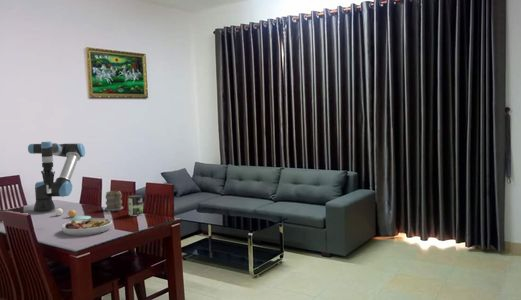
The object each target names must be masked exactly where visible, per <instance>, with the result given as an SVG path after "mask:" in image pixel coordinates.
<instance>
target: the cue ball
mask: <svg viewBox="0 0 521 300" xmlns="http://www.w3.org/2000/svg"><path fill="white" fill-rule="evenodd" d="M54 214H55V215H56V216H62V215H63V214H64V210H63V209H62V208H61V207H59V208H55V209H54Z"/></svg>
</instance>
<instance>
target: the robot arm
mask: <svg viewBox="0 0 521 300" xmlns="http://www.w3.org/2000/svg"><path fill="white" fill-rule="evenodd" d="M27 151H28V153H29V154H30V155H31V154H33V155H36V154H37V155H38V154H41V162H42V163H41V167H42V168H43V169H42V170H41V171H40V174H41V175H42V181H36V183H34V192H35V193H34V194H35V203H34V206H33V212H39V213H40V212H49V211H55V210H56V206H55V203H54V201H53V197H54V198H55V197H56V198H57V197H58V198H59V197H60V198H64V197H69V196H70V195H71V193H72V191H73V183H72V181H71V179H72V177H73V173H74V172H75V168H76V166H77V163H78V161H80V160H81V158H83V157H85V155H86V150H85V146H84V144H83V143H81V142H80V143H79V142H77V143H56V142H54V143H53V142H52V141H41V143H29V144H28V146H27ZM54 156H56V157H61V158H62V157H63V158H66V159H65V162H64V164H63V167H62V169H61V172H60V175H59V177H56V179H55V175H56V171H54V169H53V168H54ZM54 179H55V181H54Z"/></svg>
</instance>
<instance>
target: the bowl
mask: <svg viewBox="0 0 521 300" xmlns="http://www.w3.org/2000/svg"><path fill="white" fill-rule="evenodd" d="M112 225H113V221H112V220H111V219H110V218H107V217H106V218H104V217H91V218H88V219H80V220H70V221H67V222H65V223H63V224H61V231H62V232H63V233H64V235H65V234H66V235H67V236H77V237H80V236H93V235H97V234H102V233H104V232H107V231H108V230H109V229H111V227H112ZM101 232H102V233H101Z"/></svg>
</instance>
